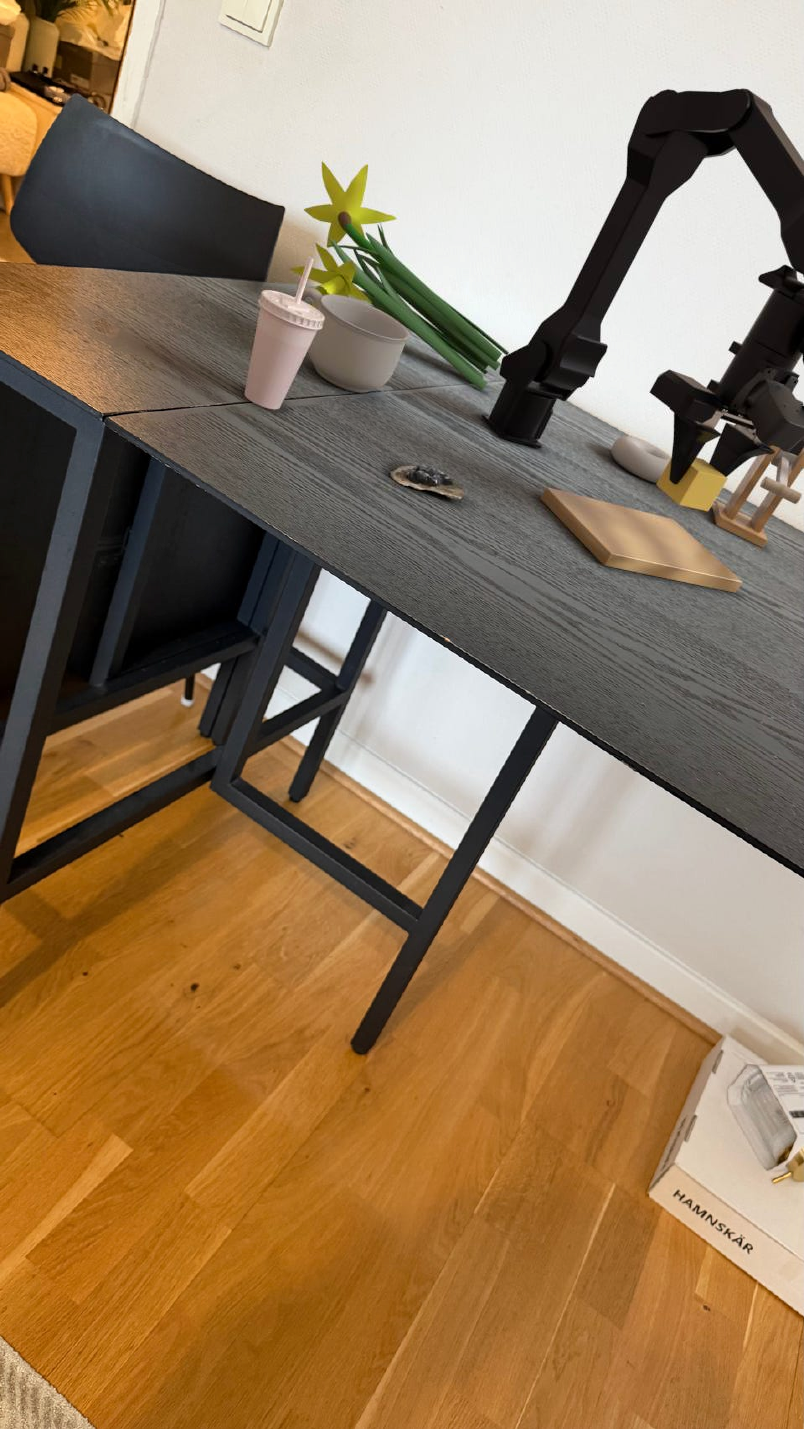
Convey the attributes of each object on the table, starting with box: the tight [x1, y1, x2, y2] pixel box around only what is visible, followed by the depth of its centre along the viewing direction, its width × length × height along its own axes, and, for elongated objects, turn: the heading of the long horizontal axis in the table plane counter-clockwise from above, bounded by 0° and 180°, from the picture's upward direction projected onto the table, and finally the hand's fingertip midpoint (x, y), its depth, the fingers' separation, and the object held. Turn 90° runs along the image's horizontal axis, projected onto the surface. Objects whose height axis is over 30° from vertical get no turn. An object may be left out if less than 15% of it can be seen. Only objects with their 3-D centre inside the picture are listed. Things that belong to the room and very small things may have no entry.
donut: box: [611, 435, 672, 484], centre depth 134 cm, size 10×3×10 cm
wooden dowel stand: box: [712, 445, 804, 549], centre depth 128 cm, size 8×7×13 cm
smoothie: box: [244, 256, 325, 410], centre depth 91 cm, size 6×6×14 cm
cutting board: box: [540, 486, 743, 594], centre depth 106 cm, size 20×14×2 cm
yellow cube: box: [655, 457, 728, 512], centre depth 103 cm, size 4×4×4 cm
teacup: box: [301, 287, 410, 394], centre depth 110 cm, size 14×11×8 cm
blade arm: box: [759, 448, 803, 505], centre depth 122 cm, size 11×5×2 cm, turn 167°
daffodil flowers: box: [289, 161, 510, 392], centre depth 132 cm, size 17×15×35 cm
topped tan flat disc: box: [390, 464, 466, 501], centre depth 93 cm, size 7×8×2 cm
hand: (688, 487), depth 103 cm, fingers closed on yellow cube, 4 cm apart
